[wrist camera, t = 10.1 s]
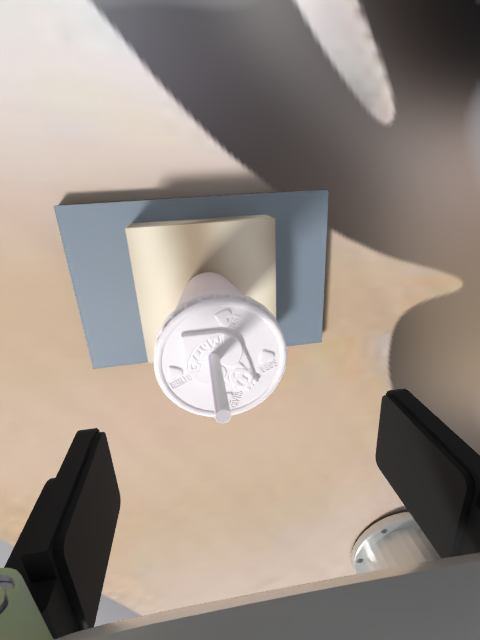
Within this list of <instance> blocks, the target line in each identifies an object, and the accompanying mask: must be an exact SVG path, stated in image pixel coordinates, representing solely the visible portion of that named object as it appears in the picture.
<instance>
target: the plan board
mask: <svg viewBox="0 0 480 640" xmlns="http://www.w3.org/2000/svg"><path fill="white" fill-rule="evenodd" d="M328 194H329V190H308V191H290V192H273V193H256V194H239V195H222V196H205V197H188V198H171V199H154V200H137V201H120V202H103V203H86V204H69V205H57V206H54V209H55V214H56V218H57V222H58V226H59V230H60V234H61V238H62V242H63V246H64V250H65V255H66V259H67V263H68V267H69V271H70V275H71V279H72V283H73V287H74V291H75V296H76V300H77V304H78V308H79V312H80V316H81V320H82V324H83V328H84V333H85V337H86V341H87V345H88V349H89V353H90V357H91V361H92V365H93V369H96V368H105V367H114V366H122V365H131V364H139V363H148V359H147V353H146V347H145V341H144V336H143V330H142V324H141V318H140V312H139V306H138V301H137V295H136V289H135V283H134V277H133V272H132V266H131V260H130V254H129V248H128V243H127V237H126V231H125V228H126V227H128V226H129V225H130V224H131V223H144V222H159V221H174V220H189V219H204V218H219V217H234V216H249V215H264V214H266V215H268V216H271V217H273V218H275V247H276V320H277V322H278V324H279V326H280V328H281V330H282V333H283V335H284V338H285V341H286V346H293V345H302V344H310V343H319V342H322V325H323V303H324V282H325V261H326V239H327V218H328V217H327V216H328V196H329V195H328Z"/></svg>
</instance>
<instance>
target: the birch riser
mask: <svg viewBox="0 0 480 640" xmlns="http://www.w3.org/2000/svg"><path fill="white" fill-rule="evenodd" d="M125 231H126V237H127V243H128V248H129V254H130V260H131V266H132V272H133V277H134V283H135V289H136V295H137V301H138V306H139V312H140V318H141V324H142V330H143V336H144V341H145V347H146V353H147V359H148V363H154V345H155V342H156V338H157V334H158V331H159V329H160V328H161V326H162V325H163V323H164V321H165V320H166V318H167V317H168V316H169V315H170V314H171V313H172V312H173V311H174V310H175V309H176V307H177V305H178V302H179V300H180V298H181V296H182V293H183V291H184V289H185V287H186V285H187V283H188V282H189V281H190V280H191V279H192V278H193V277H194V276H196V275H198V274H200V273H204V272H214V273H218V274H220V275H222V276H224V277H225V278H226V279H227V280H228V281H230V282H231V283H232V284H233V285H234V286H235V287H236V288H237V289H238V290H239V291H240V292H241V293H242V294H243V295H244V296H248V297H251V298H252V299H254V300H256V301H257V302H259V303H261V304H262V305H264V306H265V307H266V308H267V309H268V310H269V311H270V312H271V313H272V314H273V316H274V317H275V318H276V247H275V218H273V217H271V216H268V215H266V214H264V215H249V216H234V217H219V218H204V219H189V220H174V221H159V222H144V223H131V224H130V225H129V226H128V227H126V228H125Z"/></svg>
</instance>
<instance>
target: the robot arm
mask: <svg viewBox="0 0 480 640" xmlns="http://www.w3.org/2000/svg"><path fill="white" fill-rule="evenodd" d="M376 462H377V465H378V467H379V469H380V470H381V472H382V473H383V475H384V476H385V478H386V479H387V480H388V482H389V483H390V485H391V486H392V488H393V489H394V491H395V492H396V494H397V495H398V496H399V498H400V499H401V501H402V502H403V504H404V505H405V507H406V508H407V510H408V511H409V512H402V513H397V514H394V515H391V516H388V517H386V518H384V519H381V520H379V521H378V522H376V523H375V524H373V525H372V526H370V527H369V528H368V529H367V530H366V531H365V532H364V533H363V534H362V535H361V536H360V537H359V538H358V540H357V541H356V543H355V545H354V547H353V550H352V554H351V561H352V564H353V567H354V569H355V571H356V573H357V574H355V575H350V576H344V577H339V578H334V579H329V580H323V581H318V582H313V583H307V584H302V585H297V586H292V587H286V588H281V589H276V590H271V591H265V592H260V593H255V594H250V595H245V596H240V597H235V598H230V599H224V600H219V601H214V602H209V603H204V604H199V605H194V606H189V607H184V608H179V609H173V610H168V611H164V612H159V613H154V614H150V615H145V616H141V617H136V618H132V619H127V620H122V621H117V622H113V623H108V624H105V625H101V626H97V627H94V624H95V620H96V615H97V610H98V606H99V601H100V597H101V592H102V588H103V583H104V579H105V574H106V569H107V565H108V560H109V556H110V551H111V547H112V542H113V537H114V533H115V528H116V524H117V519H118V514H119V510H120V493H119V488H118V484H117V480H116V476H115V471H114V467H113V463H112V459H111V454H110V450H109V446H108V442H107V438H106V434H105V432H99V430H98V429H97V428H95V429H87V430H79V431H78V432H77V433H76V435H75V437H74V440H73V442H72V444H71V446H70V448H69V450H68V452H67V455H66V457H65V459H64V461H63V463H62V465H61V467H60V470H59V472H58V474H57V476H56V478H52V479H49V480H48V481H47V482H46V484H45V486H44V488H43V490H42V492H41V494H40V496H39V498H38V500H37V502H36V504H35V506H34V508H33V510H32V512H31V514H30V516H29V518H28V520H27V522H26V524H25V526H24V528H23V530H22V532H21V534H20V537H19V539H18V541H17V543H16V545H15V547H14V549H13V551H12V553H11V555H10V557H9V559H8V561H7V563H6V565H5V567H4V568H0V640H480V455H478V454H477V453H476V452H475V451H474V450H473V449H472V448H471V447H469V446H468V445H467V444H466V443H465V442H464V441H463V440H462V439H461V438H460V437H459V436H457V435H456V434H455V433H454V432H453V431H452V430H451V429H450V428H449V427H447V426H446V425H445V424H444V423H443V422H442V421H441V420H440V419H439V418H438V417H437V416H435V415H434V414H433V413H432V412H431V411H430V410H429V409H428V408H427V407H425V406H424V405H423V404H422V403H421V402H420V401H419V400H418V399H416V397H414V396H413V395H412V394H411V393H410V392H409V391H408V390H406V389H397V390H390V391H387V393H386V395H384V396H383V397H382V403H381V412H380V421H379V430H378V439H377V448H376Z"/></svg>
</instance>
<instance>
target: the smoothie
mask: <svg viewBox="0 0 480 640" xmlns="http://www.w3.org/2000/svg"><path fill="white" fill-rule="evenodd" d="M286 363H287V346H286V341H285V338H284V335H283V333H282V330H281V328H280V326H279V324H278V322H277V320H276V318H275V317H274V316H273V314H272V313H271V312H270V311H269V310H268V309H267V308H266V307H265V306H264V305H262V304H261V303H259V302H257V301H256V300H254V299H252V298H251V297H248V296H244V295H243V294H242V293H241V292H240V291H239V290H238V289H237V288H236V287H235V286H234V285H233V284H232V283H231V282H230V281H228V280H227V279H226V278H225V277H224V276H222V275H220V274H218V273H214V272H204V273H200V274H198V275H196V276H194V277H193V278H192V279H191V280H190V281H189V282H188V283H187V285H186V287H185V289H184V291H183V293H182V296H181V298H180V300H179V302H178V305H177V307H176V309H175V310H174V311H173V312H172V313H171V314H170V315H169V316H168V317H167V318H166V320H165V321H164V323H163V325H162V326H161V328H160V329H159V331H158V334H157V338H156V342H155V345H154V370H155V375H156V378H157V381H158V383H159V385H160V387H161V389H162V390H163V392H164V393H165V394H166V395H167V397H168V398H169V399H170V400H171V401H173V402H174V403H175V404H176V405H178V406H179V407H181V408H183V409H185V410H187V411H189V412H191V413H195V414H198V415H202V416H209V417H215V419H216V421H217V422H219V423H226V422H228V421H229V420H230V419H231V415H235V414H239V413H242V412H245V411H247V410H249V409H251V408H253V407H255V406H256V405H258V404H260V403H261V402H262V401H264V400H265V399H266V398H267V397H268V396H269V395H270V394H271V393H272V392H273V391H274V390H275V388H276V387H277V385H278V384H279V382H280V380H281V378H282V376H283V374H284V371H285V368H286Z"/></svg>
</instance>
